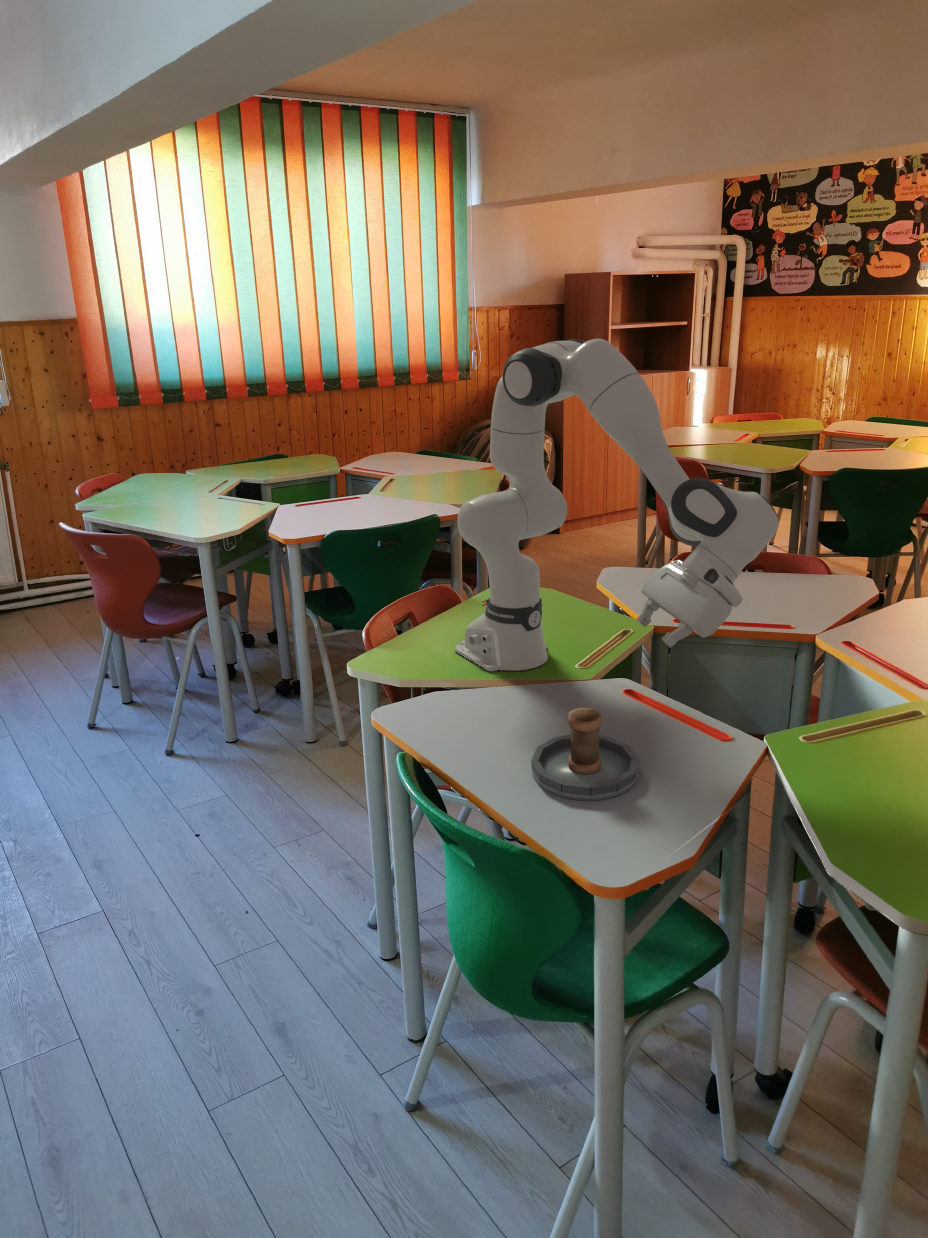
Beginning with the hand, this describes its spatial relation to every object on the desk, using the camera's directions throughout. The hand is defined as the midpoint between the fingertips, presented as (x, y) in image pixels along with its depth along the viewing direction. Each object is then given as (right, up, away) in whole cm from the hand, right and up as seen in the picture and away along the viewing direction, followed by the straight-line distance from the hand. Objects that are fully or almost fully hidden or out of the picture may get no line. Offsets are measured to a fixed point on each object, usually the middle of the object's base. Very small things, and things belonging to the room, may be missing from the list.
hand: (652, 633), depth 157 cm
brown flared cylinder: (-12, -23, -2) cm, 26 cm away
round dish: (-12, -24, -2) cm, 27 cm away
